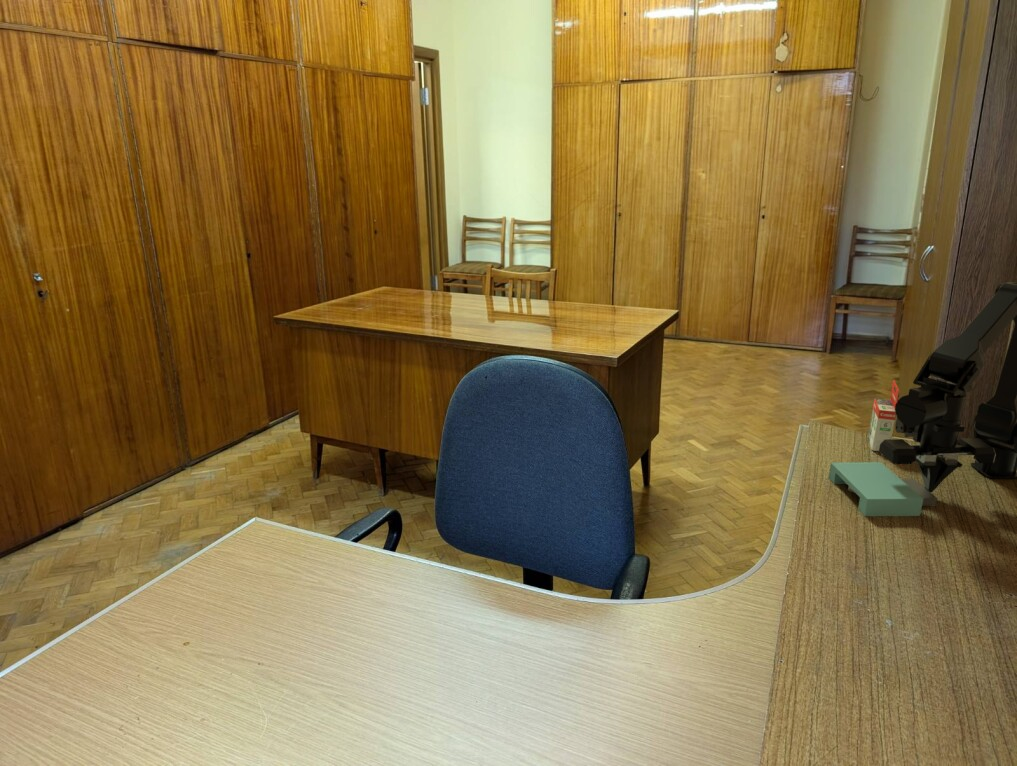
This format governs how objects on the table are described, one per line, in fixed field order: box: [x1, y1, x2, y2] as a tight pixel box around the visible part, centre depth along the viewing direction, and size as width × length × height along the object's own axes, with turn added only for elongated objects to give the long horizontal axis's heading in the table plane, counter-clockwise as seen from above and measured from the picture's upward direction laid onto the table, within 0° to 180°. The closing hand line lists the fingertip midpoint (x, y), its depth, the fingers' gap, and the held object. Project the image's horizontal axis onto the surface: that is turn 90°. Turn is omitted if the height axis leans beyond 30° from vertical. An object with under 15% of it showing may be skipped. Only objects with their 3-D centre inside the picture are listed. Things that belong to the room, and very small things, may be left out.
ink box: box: [867, 379, 901, 452], centre depth 152 cm, size 4×8×15 cm, turn 160°
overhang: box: [828, 461, 923, 517], centre depth 131 cm, size 10×15×4 cm, turn 179°
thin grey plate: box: [900, 478, 938, 506], centre depth 132 cm, size 11×8×2 cm
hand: (928, 491), depth 132 cm, fingers closed
